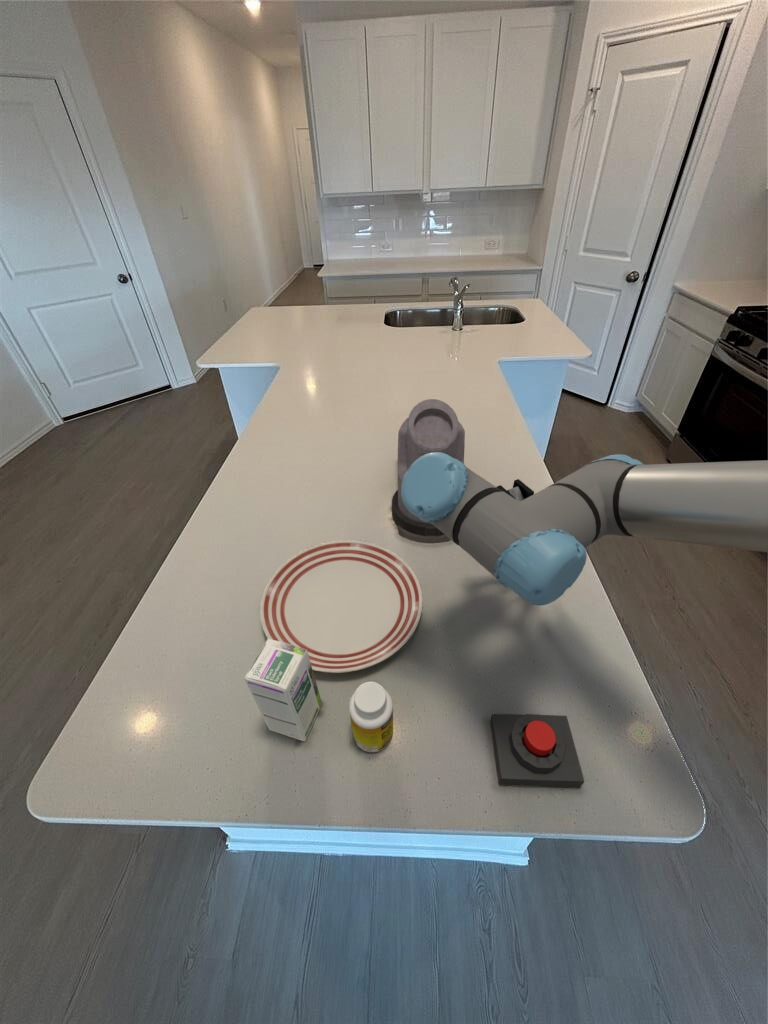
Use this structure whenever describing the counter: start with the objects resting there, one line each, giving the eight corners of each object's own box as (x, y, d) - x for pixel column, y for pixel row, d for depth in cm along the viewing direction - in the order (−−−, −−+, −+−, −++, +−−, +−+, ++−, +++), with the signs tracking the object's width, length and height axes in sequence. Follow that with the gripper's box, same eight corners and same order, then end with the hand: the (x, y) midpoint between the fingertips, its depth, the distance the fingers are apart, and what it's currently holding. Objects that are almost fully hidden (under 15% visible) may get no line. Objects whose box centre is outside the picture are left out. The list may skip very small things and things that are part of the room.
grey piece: (472, 542, 88) (488, 435, 72) (392, 544, 88) (390, 438, 72) (453, 458, 111) (462, 363, 95) (389, 460, 111) (387, 365, 95)
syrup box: (305, 743, 60) (287, 690, 50) (267, 730, 61) (242, 676, 52) (322, 704, 64) (309, 648, 54) (286, 692, 65) (266, 636, 56)
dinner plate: (445, 578, 81) (446, 566, 79) (378, 711, 63) (377, 700, 60) (319, 535, 91) (317, 523, 88) (229, 639, 72) (224, 628, 70)
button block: (562, 722, 61) (569, 709, 58) (579, 787, 55) (588, 776, 52) (489, 720, 61) (493, 707, 59) (498, 785, 55) (503, 773, 53)
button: (548, 726, 57) (551, 720, 56) (555, 756, 54) (559, 750, 53) (520, 725, 57) (523, 719, 56) (526, 755, 54) (529, 749, 53)
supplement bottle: (386, 759, 58) (384, 725, 51) (347, 746, 59) (340, 711, 52) (398, 718, 62) (398, 682, 55) (361, 707, 63) (356, 670, 56)
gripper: (438, 513, 63) (504, 547, 80) (505, 570, 54) (562, 593, 72) (470, 470, 61) (530, 514, 79) (543, 522, 53) (592, 558, 71)
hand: (545, 552), depth 75 cm, fingers closed
